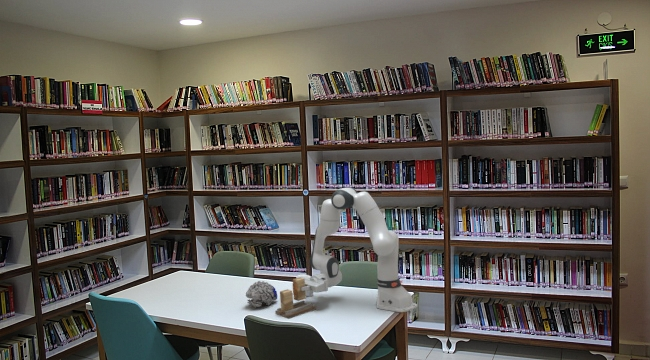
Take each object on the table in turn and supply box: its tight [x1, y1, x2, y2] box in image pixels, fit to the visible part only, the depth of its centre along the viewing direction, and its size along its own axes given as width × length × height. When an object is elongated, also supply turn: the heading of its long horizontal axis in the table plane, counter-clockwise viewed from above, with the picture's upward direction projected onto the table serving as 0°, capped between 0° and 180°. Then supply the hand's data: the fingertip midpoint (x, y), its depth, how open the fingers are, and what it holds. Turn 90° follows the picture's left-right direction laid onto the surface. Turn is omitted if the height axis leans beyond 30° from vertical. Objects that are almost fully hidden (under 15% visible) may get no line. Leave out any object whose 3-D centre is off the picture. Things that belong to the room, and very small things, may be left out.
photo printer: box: [295, 273, 314, 298], centre depth 306 cm, size 10×4×12 cm, turn 61°
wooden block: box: [292, 277, 307, 302], centre depth 279 cm, size 4×6×11 cm
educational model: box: [245, 280, 278, 309], centre depth 292 cm, size 14×20×15 cm
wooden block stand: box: [274, 288, 317, 319], centre depth 278 cm, size 12×18×12 cm, turn 131°
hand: (297, 288), depth 279 cm, fingers closed on wooden block, 4 cm apart
